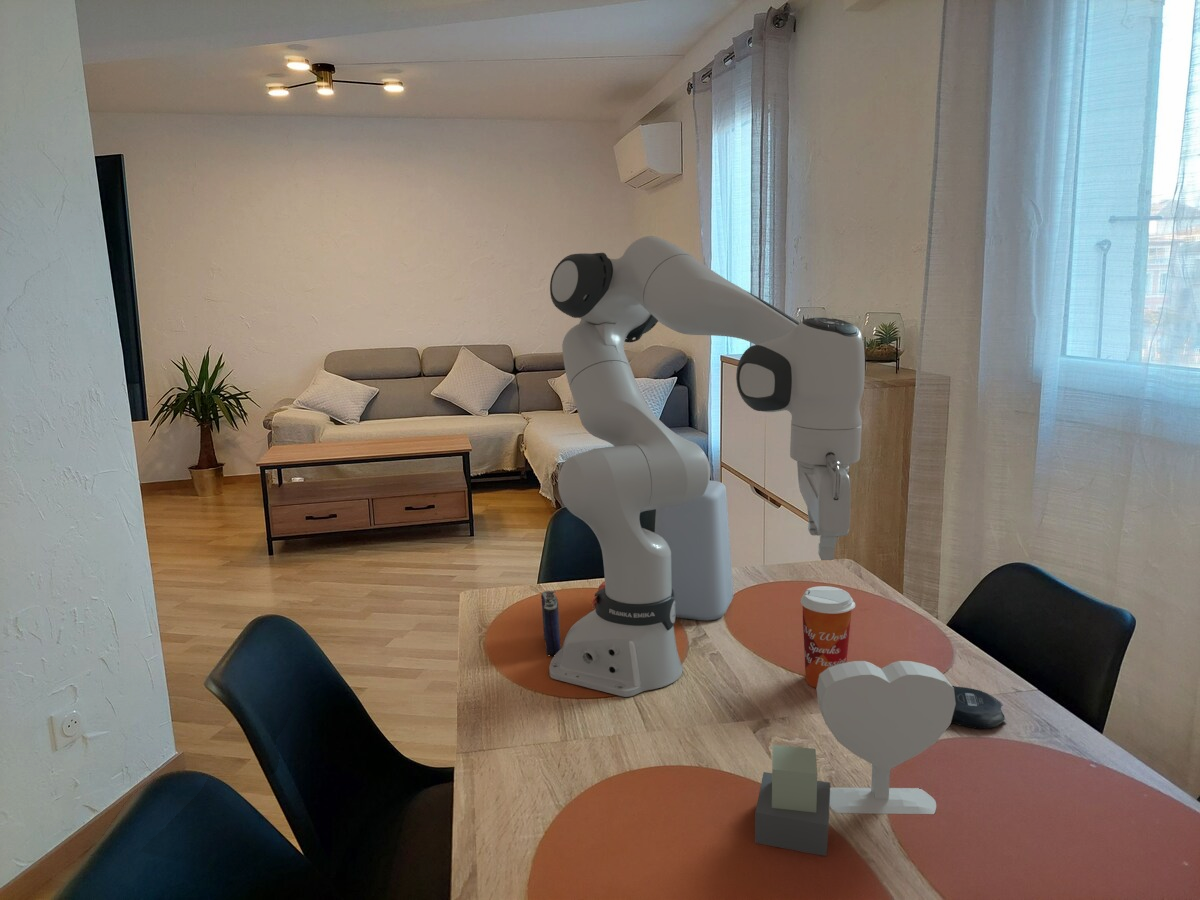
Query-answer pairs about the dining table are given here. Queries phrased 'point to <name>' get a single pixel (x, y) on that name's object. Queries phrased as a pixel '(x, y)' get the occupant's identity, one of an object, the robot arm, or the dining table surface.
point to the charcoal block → (792, 821)
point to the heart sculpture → (885, 727)
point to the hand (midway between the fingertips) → (820, 545)
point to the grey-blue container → (699, 554)
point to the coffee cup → (825, 629)
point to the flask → (551, 622)
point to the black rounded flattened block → (976, 709)
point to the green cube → (794, 778)
